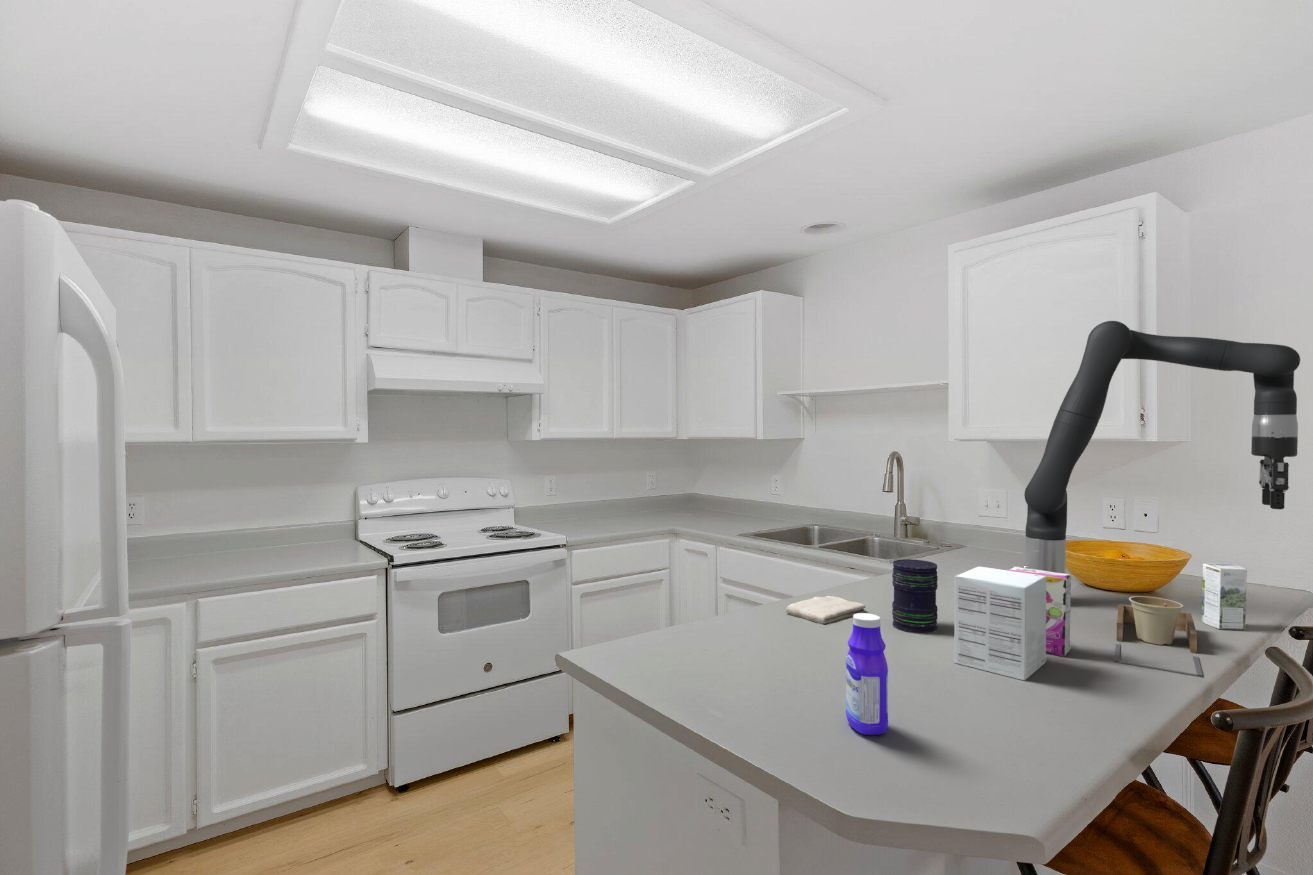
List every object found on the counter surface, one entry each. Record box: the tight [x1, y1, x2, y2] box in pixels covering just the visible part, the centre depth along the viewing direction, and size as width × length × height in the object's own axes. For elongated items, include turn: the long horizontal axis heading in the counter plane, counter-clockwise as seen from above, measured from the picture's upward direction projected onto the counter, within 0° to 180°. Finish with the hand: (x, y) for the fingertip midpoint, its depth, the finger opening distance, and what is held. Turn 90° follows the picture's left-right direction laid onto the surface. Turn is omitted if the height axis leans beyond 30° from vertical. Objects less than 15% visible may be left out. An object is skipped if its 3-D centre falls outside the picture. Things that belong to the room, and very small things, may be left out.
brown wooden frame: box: [1116, 603, 1198, 654], centre depth 145 cm, size 14×18×4 cm
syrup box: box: [1200, 562, 1248, 631], centre depth 152 cm, size 6×6×14 cm
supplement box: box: [953, 565, 1047, 681], centre depth 129 cm, size 13×13×18 cm
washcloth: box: [785, 595, 867, 625], centre depth 164 cm, size 12×18×3 cm, turn 128°
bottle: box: [845, 612, 889, 736], centre depth 101 cm, size 7×6×17 cm
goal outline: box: [1113, 643, 1204, 678], centre depth 130 cm, size 14×13×1 cm
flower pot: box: [1128, 595, 1184, 646], centre depth 142 cm, size 9×9×9 cm
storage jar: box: [891, 558, 939, 635], centre depth 152 cm, size 10×10×15 cm
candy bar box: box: [1006, 566, 1072, 658], centre depth 137 cm, size 11×5×16 cm, turn 47°
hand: (1272, 506), depth 146 cm, fingers open, 8 cm apart
